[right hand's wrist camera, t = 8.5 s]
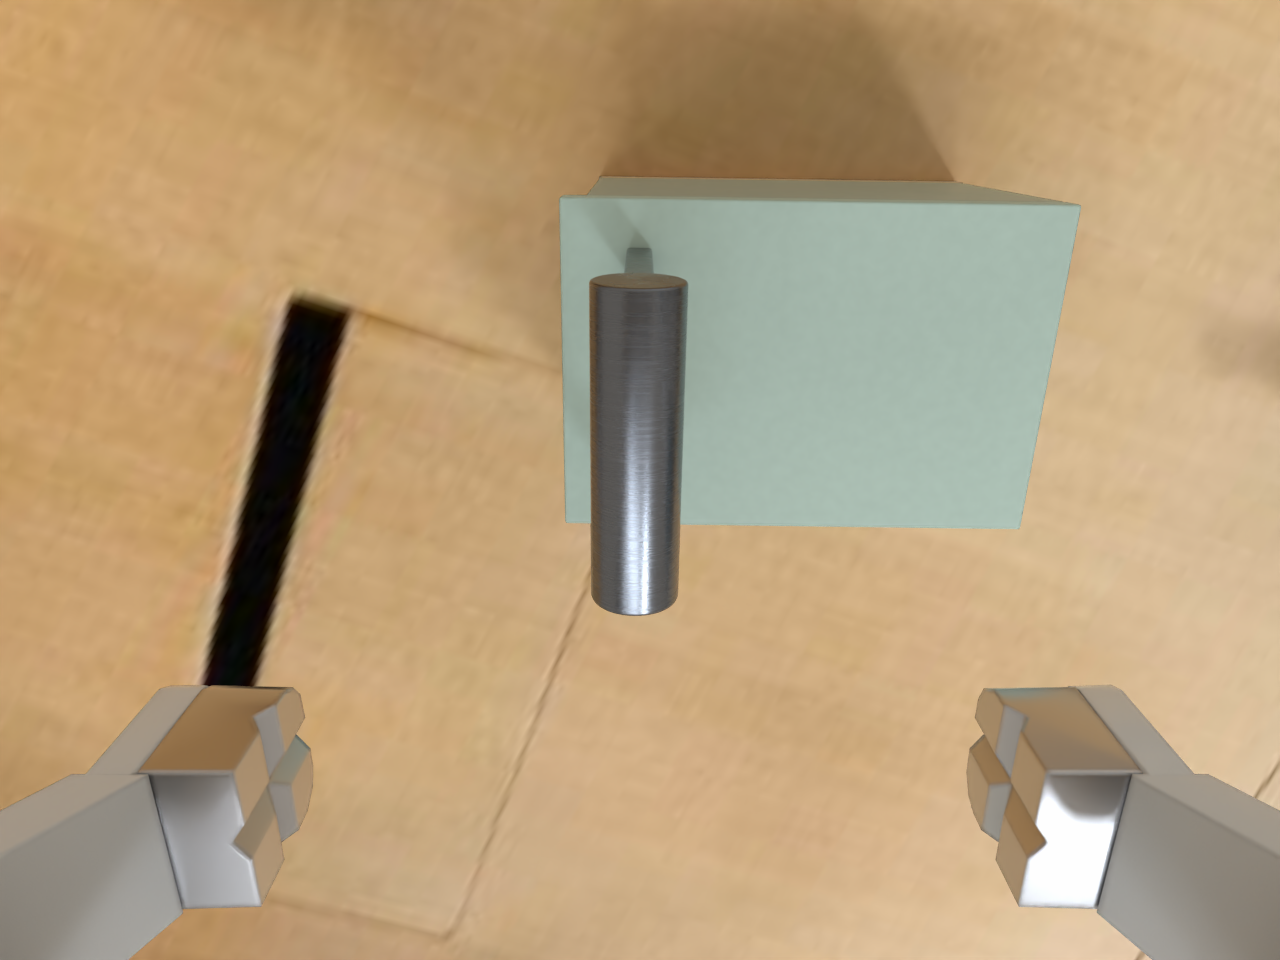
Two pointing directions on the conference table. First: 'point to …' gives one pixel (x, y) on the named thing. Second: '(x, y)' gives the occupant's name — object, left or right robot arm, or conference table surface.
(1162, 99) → the conference table surface
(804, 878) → the conference table surface
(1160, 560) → the conference table surface
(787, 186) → the chest
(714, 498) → the lid
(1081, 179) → the conference table surface
